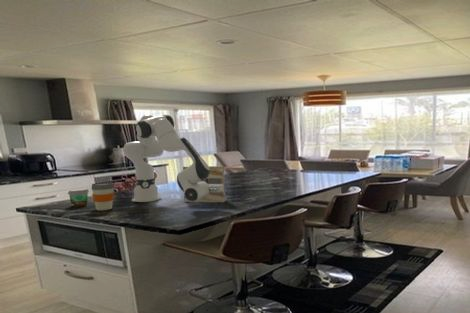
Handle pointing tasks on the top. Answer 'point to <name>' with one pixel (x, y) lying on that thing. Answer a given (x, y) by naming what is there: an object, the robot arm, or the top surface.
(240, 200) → the top surface
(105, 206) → the reusable coffee cup
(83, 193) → the food container
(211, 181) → the key
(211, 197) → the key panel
